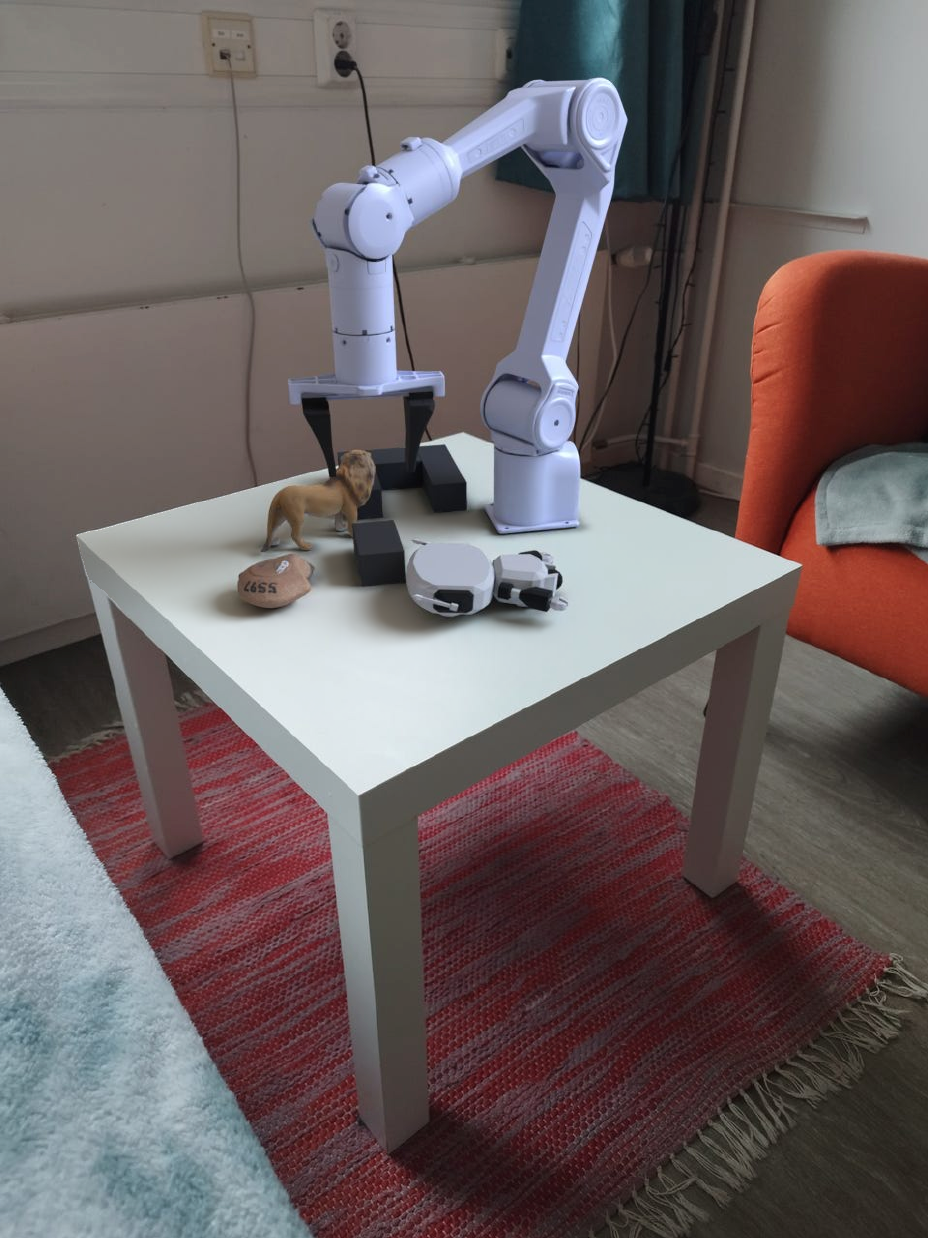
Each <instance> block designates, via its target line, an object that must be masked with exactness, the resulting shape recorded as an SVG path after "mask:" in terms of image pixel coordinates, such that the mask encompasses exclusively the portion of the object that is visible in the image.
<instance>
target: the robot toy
mask: <svg viewBox="0 0 928 1238" xmlns="http://www.w3.org/2000/svg"><path fill="white" fill-rule="evenodd" d="M411 542H412V543H413V544H416V545H421V546H420V547H418V548H417V549H415V550H414V551H413V552H412V553H411V555H410V557H409V559H408V563H407V565H406V582H405V585H406V587H407V591H408V594H409V596H410V597H411V599H412V600H413V601H414V602H415V603H416V604H417V605H418V606H419V607H420V608H422V609H423V610H425V611H428V612H429V613H432V614H437V615H439V616H442V617H445V618H453V617H457V616H460V615H474V614H475V613H477V612H479V611H482V610H483V609H485V608H486V607H487V606H489V604H490V603H491V601H492V599H493V596H494V598H495V599H496V600H497V601H498V602H499V603H505V604H514V605H516V606H518V607H522V608H528V609H532V610H536V611H539V612H540V611H541V612H544V613H548V612H549V610H550V609H552V610H554V611H555V612H563V611H565V610H566V609H567V608H568V607H569V603H570V601H569V600H568V598H566V597H564V596H560V595H559V596H555V595H556V591H557V590H559V589H560V588H561V587H562V586H563V582H564V580H563V576H562V574H561V572H560V571H559V570H558V569H556V567H557V566H556V565H555V564H553V563H554V561H555V557H553V555H551V554H550V553H548V552H540V551H538V550H536V549H534V550H527V551H522V552H521V551H520V552H518V553H517V554H501V555H499V556H497V557H496V558H494V559H493V560H491V559H490V558H489V557H488V555H487V554H485V553H484V552H483V550H481V548H478V547H476V546H475V545H472V544H470V543H468V542H467V543H466V542H441V541H440V542H439V541H431V542H426V541H424V540H423V541H422V540H420V539H418V538H411Z"/></svg>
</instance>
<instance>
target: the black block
mask: <svg viewBox="0 0 928 1238" xmlns="http://www.w3.org/2000/svg"><path fill="white" fill-rule="evenodd" d="M352 532H353V537H352V542H353V543H352V544H353V555H354V559H355V563H356V567H357V571H358V575H359V581H360V586H361V587H370V586H378V585H381V586H382V585H387V584H388V585H390V584H399V583H406V577H407V571H406V555H405V553H406V552H405V549H404V545H403V543H402V542H403V541H402V539H401V537H400V533H399V531H398V528H397V525H396V522H395V519H388V520H387V519H385V520H376V521H365V522H363V521H362V522H357V523H352Z"/></svg>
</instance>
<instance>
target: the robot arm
mask: <svg viewBox="0 0 928 1238" xmlns="http://www.w3.org/2000/svg"><path fill="white" fill-rule="evenodd" d="M627 124H628V117H627V114H626V111H625V109H624V106H623V103H622V101H621V97H620V94H619V92H618V90H617V88H616V87H615V85H614V84H613V83H612V82H611V81H610V80H608V79H607V78H604V77H596V78H595V77H593V78H589V79H580V80H579V79H575V80H552V81H551V80H549V81H546V80H543V79H534V80H531V81H529V82H527V83H525V84H523V86H522V87H517V88H514V89H512V90H510V91H509V92H507V94H506V96H505V97H504V98H503V99H502V100H500V101H499V102H497V103H496V104H495V105H493V106H491V107H490V108H489V109H488V110H486V111H485V112H484V113H482V114H481V115H479V116H477V117H476V118H475V119H473V120H472V121H470V122H469V123H467V125H465V126H463V127H462V128H461V129H460V130H458V131H457V132H455V133H454V134H453V135H451V136H449V137H448V138H447V139H445V140H443V142H439V141H437V140H435V139H433V138H431V137H423V138H420V137H418V136H408V137H407V138H405V139H404V140H402V141H400V142H399V146H400V149H401V151H399V152H397V153H395V154H394V155H392V156H390V157H389V158H387V159H386V160H383V161H382V162H381V163H379V164H377V165H375V166H374V165H369V164H368V165H365V166H364V167H362V168H360V169H359V170H358V173H359V177H358V178H357V179H356V182H355V183H352V182H350V183H349V182H337V183H334V184H332V185H330V186H329V187H327V188H326V189H325V190H324V191H323V192H322V193H321V195H320V197H321V198H320V199H319V200H318V201H317V204H316V208H315V215H314V217H311V218H310V227H311V231H312V234H313V236H314V238H315V240H316V242H317V243H318V244H319V245H320V247H321V248H322V249H323V252H324V256H325V266H326V267H327V279H328V293H329V304H330V319H331V320H330V321H331V332H332V333H331V334H332V344H333V345H332V346H333V359H334V373H328V374H321V375H314V376H307V377H297V378H288V379H287V386H288V387H287V388H288V399H289V404H290V406H294V405H301V407H302V414H303V416H304V418H305V420H306V422H307V424H308V425H309V427H310V428H311V431H312V432H313V434H314V437H315V438H316V440H317V442H318V445H319V446H320V449H321V451H322V454H323V456H324V459H325V463H326V467H327V471H328V472H327V473H328V477H329V478H330V477H337V475H336V469H337V466H336V465H337V464H336V459H335V454H334V448H333V435H332V420H331V419H332V418H331V417H332V416H331V412H330V404H329V402H330V401H346V400H347V401H348V400H366V399H385V398H403V410H404V411H403V412H404V413H403V414H404V422H405V423H404V425H405V426H404V427H405V437H404V438H405V440H404V447H405V464H406V468H407V470H408V472H415V466H416V459H417V454H418V450H419V446H421V442H422V440H423V436H424V434H425V431H426V429H427V426H428V425H429V422H430V420H431V419H432V417H433V414H434V411H435V408H436V401H435V400H434V398H441V397H446V396H445V395H446V387H445V385H446V384H445V383H446V382H445V375H444V373H443V372H442V371H441V370H439V371H420V370H419V371H418V370H417V371H415V370H397V369H398V367H397V345H396V344H397V343H396V321H395V297H394V269H393V268H394V267H393V255H395V254H396V253H397V251H398V250H399V249H400V247H401V245H402V243H403V241H404V238H405V235H406V233H407V231H409V230H411V229H412V228H414V227H416V226H417V225H418V224H420V223H422V222H423V221H425V220H426V219H428V218H429V217H431V216H432V215H434V214H436V213H437V212H438V211H440V210H441V209H443V208H444V207H446V206H448V205H449V204H451V203H453V202H454V201H455V200H456V199H457V197H458V194H459V191H460V186H461V180H462V179H463V178H465V177H467V176H470V175H471V174H473V173H475V172H477V171H478V170H481V169H482V168H483V167H486V166H487V165H489V164H491V163H492V162H494V161H496V160H498V159H500V158H502V157H503V156H505V155H507V154H509V153H511V152H512V151H514V150H516V149H517V148H519V147H521V149H522V150H523V151H524V152H525V154H526V155H527V156H528V157H529V158H530V160H531V161H532V163H534V165H535V166H536V167H537V168H538V169H539V171H540V172H541V173H542V175H544V177H546V179H547V180H548V181H549V183H550V185H551V187H552V189H553V191H554V193H555V198H554V203H553V206H552V210H551V214H550V219H549V222H548V226H547V228H546V229H547V230H546V233H545V237H544V242H543V245H542V248H541V251H540V256H539V259H538V263H537V267H536V270H535V271H536V272H535V275H534V280H533V283H532V286H531V291H530V294H529V299H528V302H527V306H526V310H525V314H524V317H523V321H522V326H521V329H520V333H519V337H518V340H517V344H516V348H515V350H514V351H512V352H511V353H510V354H508V355H507V356H505V357H504V358H503V359H501V360H500V361H499V362H498V363H497V364H496V366H495V371H494V374H493V376H492V379H491V381H490V383H489V384H488V385H487V387H486V388H485V389H484V391H483V394H482V397H481V400H480V402H479V404H480V405H479V414H480V418H481V421H482V424H483V425H484V426H485V427H486V428H487V429H488V430H489V431H490V441H492V442H493V502H491V503H490V502H489V503H485V504H484V505H483V508H484V510H485V512H486V514H487V515H488V517H489V519H490V521H491V523H492V524H493V526H494V528H495V529H496V531H497V533H499V534H512V533H524V532H531V531H532V532H534V531H545V530H555V529H556V530H557V529H567V528H576V527H579V526H580V521H579V503H580V501H579V500H580V487H581V463H580V455H579V451H578V448H577V446H576V444H575V443H574V442H573V441H570V440H569V438H570V436H571V435H572V433H573V430H574V427H575V423H576V399H577V394H578V391H579V384H578V382H577V380H576V378H575V376H574V374H573V373H572V371H571V370H570V369H569V367H568V365H567V362H566V361H567V358H568V354H569V350H570V347H571V345H572V344H571V343H572V339H573V337H574V333H575V330H576V329H575V328H576V325H577V321H578V318H579V314H580V311H581V308H582V303H583V300H584V296H585V293H586V289H587V287H588V286H587V285H588V282H589V279H590V275H591V272H592V268H593V264H594V261H595V257H596V253H597V250H598V246H599V243H600V240H601V236H602V232H603V228H604V224H605V222H606V218H607V214H608V211H609V206H610V203H611V200H612V196H613V191H614V186H615V174H616V173H615V170H616V164H617V160H618V157H619V153H620V149H621V145H622V142H623V138H624V134H625V131H626V128H627ZM531 381H532V382H535V383H537V384H538V385H539V386H537V385H534V384H531V383H529V382H531Z"/></svg>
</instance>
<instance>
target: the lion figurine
mask: <svg viewBox="0 0 928 1238" xmlns="http://www.w3.org/2000/svg"><path fill="white" fill-rule="evenodd" d="M349 451H350V452H349V453H346V454H345V455H344V456H342V457H341V464H340V466H338V467H336V475H337V477H329V479H328V480H326V481H325V482H323V483H319V484H314V485H294V484H293V485H288V486H285V487H283V488H282V489H280V490H279V491H278V492H277V493H276V494H275V495H274V496H273V498H272V499H271V502H270V505H269V508H268V512H267V513H268V514H267V523H266V524H267V526H266V539H265V543H264V544H263V547H262V549H261V550H260V552H261V553H265V552H268V551H269V550H270V548H271V546H278V545H280V543H281V539H280V538H279V537H275V534H276V532H277V530H278V529H279V528H280V527H281V526H282V525H283V524H284V523H285V522H287V523H288V525H289V526H290V539H291V540H292V541H293V542H294V544H295V545H297V546H298V548H299V549H300V550H301V551H310V550H312V548H313V546H312V544H311V543H310V542H308V541H304V540H303V538H302V535H301V533H302V529H303V526H304V521H305V515H307V516H310V517H314V518H326V517H330V516H333V518H334V528H335V530H336V531H338V532H343V531H347V532H348V533H349V535H350V537H351V538H353V532H352V523H358V522H357V521H358V519H357V508H359V507H360V506H362V505H365V503H366V501H368V500H369V497H370V494H371V491H372V487H373V484H374V476H375V473H376V467H375V464H374V462H373V460H372V459H371V453H367V452H366V451H362V450H361V449H357V448H355V449H352V450H351V449H350V450H349ZM343 515H344V516H345V518H346V519H345V520H346V523H344V520H343V519H344V518H343Z"/></svg>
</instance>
